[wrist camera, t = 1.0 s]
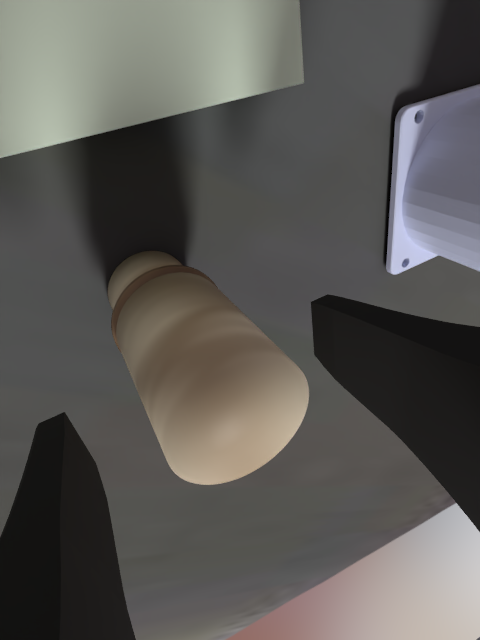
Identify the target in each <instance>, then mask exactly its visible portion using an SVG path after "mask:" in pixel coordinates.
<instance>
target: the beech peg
mask: <svg viewBox="0 0 480 640" xmlns="http://www.w3.org/2000/svg"><path fill="white" fill-rule="evenodd" d="M108 299H109V303H110V305H111V308H112V310H113V313H112V320H111V328H112V334H113V337H114V340H115V343H116V345H117V347H118V349H119V350H120V352H121V353H122V355H123V358H124V360H125V362H126V365H127V367H128V369H129V372H130V374H131V377H132V379H133V381H134V384H135V386H136V388H137V391H138V393H139V396H140V398H141V400H142V403H143V405H144V407H145V410H146V412H147V415H148V417H149V419H150V422H151V424H152V426H153V429H154V431H155V434H156V436H157V438H158V441H159V443H160V445H161V448H162V450H163V453H164V455H165V457H166V460H167V462H168V464H169V466H170V468H171V469H172V470H173V471H174V473H175V474H176V475H178V476H179V477H180V478H182V479H184V480H186V481H188V482H192V483H195V484H203V485H212V484H220V483H225V482H229V481H232V480H235V479H238V478H240V477H243V476H245V475H247V474H249V473H251V472H253V471H255V470H256V469H258V468H260V467H261V466H263V465H264V464H265V463H267V462H268V461H270V460H271V459H272V458H273V457H274V456H275V455H277V454H278V453H279V452H280V451H281V450H282V449H283V448H284V447H285V445H286V444H287V443H288V442H289V441H290V440H291V438H292V437H293V436H294V434H295V433H296V431H297V429H298V428H299V426H300V424H301V422H302V420H303V418H304V415H305V413H306V409H307V406H308V399H309V388H308V383H307V380H306V377H305V375H304V374H303V372H302V371H301V370H300V368H299V367H298V366H297V365H296V364H295V363H294V362H293V361H292V360H291V359H290V358H289V357H288V356H286V355H285V354H284V353H283V352H282V351H281V350H280V349H279V348H278V347H277V346H276V345H275V344H274V343H273V342H272V341H271V340H270V339H269V338H268V337H267V336H266V335H265V334H264V333H263V332H262V331H261V330H260V329H259V328H258V327H257V326H256V325H255V324H254V323H253V322H252V321H251V320H250V319H249V318H248V317H247V316H245V315H244V314H243V313H242V312H241V311H240V310H239V309H238V308H237V307H236V306H235V305H234V304H233V303H232V302H231V301H230V300H229V299H228V298H227V297H226V296H225V295H224V294H223V293H222V292H221V291H220V290H219V289H218V288H217V286H216V285H215V284H214V282H213V281H212V280H211V279H210V278H209V277H207V276H206V275H205V274H204V273H202V272H200V271H199V270H197V269H194V268H191V267H187V266H183V265H182V264H181V263H180V262H179V261H178V260H177V259H176V258H174V257H173V256H171V255H169V254H167V253H164V252H160V251H144V252H140V253H137V254H134V255H132V256H130V257H128V258H127V259H125V260H124V261H123V262H122V263H121V264H120V265H119V266H118V267H117V268H116V269H115V271H114V272H113V274H112V276H111V278H110V281H109V285H108Z"/></svg>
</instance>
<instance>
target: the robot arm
mask: <svg viewBox="0 0 480 640" xmlns="http://www.w3.org/2000/svg"><path fill="white" fill-rule="evenodd" d="M415 114H417V115H416V119H414V118H415ZM438 255H440V256H442V257H445V258H448V259H450V260H453V261H455V262H458V263H460V264H463V265H465V266H468V267H470V268H473V269H475V270H478V271H480V84H478V85H475V86H471V87H468V88H465V89H461V90H458V91H454V92H451V93H447V94H444V95H441V96H437V97H434V98H430V99H427V100H424V101H420V102H417V103H413V104H410V105H406V106H404V107H402V108H401V109H400V110H399V111H398V113H397V116H396V119H395V131H394V147H393V163H392V180H391V196H390V212H389V229H388V245H387V261H386V270H387V271H388V272H389V273H391V274H394V275H395V274H398V273H401V272H403V271H405V270H407V269H409V268H412V267H414V266H416V265H418V264H420V263H423V262H425V261H427V260H429V259H432V258H434V257H436V256H438ZM311 310H312V325H313V340H314V355H315V356H316V357H317V358H318V360H319V361H320V362H321V363H322V365H323V366H324V367H325V368H326V369H327V371H328V372H329V373H330V374H331V375H332V376H333V377H334V379H335V380H336V381H338V382H339V383H340V384H341V385H342V386H343V387H344V388H345V389H346V390H347V391H348V392H350V393H351V394H352V395H353V396H354V397H355V398H356V399H357V400H358V401H360V402H361V403H362V404H363V405H364V406H365V407H366V408H367V409H369V410H370V411H371V412H372V413H373V414H374V415H375V416H376V417H377V418H379V419H380V420H381V421H382V422H383V423H384V424H385V425H386V426H388V427H389V428H390V429H391V430H392V431H393V432H394V433H395V434H396V435H397V436H398V437H399V438H400V439H401V440H402V441H403V442H404V443H405V444H406V445H407V446H408V448H409V449H410V450H411V451H412V452H413V453H414V454H415V455H416V456H417V457H418V458H419V460H420V461H421V462H422V463H423V464H424V465H425V466H426V467H427V469H428V470H429V471H430V472H431V473H432V474H433V475H434V477H435V478H436V479H437V480H438V481H439V482H440V484H441V485H442V486H443V487H444V488H445V489H446V491H447V492H448V493H449V494H450V495H451V497H452V498H453V499H454V500H455V502H456V503H457V504H458V505H459V506H460V508H461V509H462V510H463V511H464V513H465V514H466V515H467V516H468V517H469V519H470V520H471V521H472V522H473V524H474V525H475V526H476V528H477V529H478V530H479V531H480V327H475V326H468V325H461V324H454V323H448V322H443V321H438V320H433V319H428V318H423V317H418V316H414V315H410V314H405V313H401V312H397V311H393V310H389V309H385V308H381V307H377V306H374V305H370V304H366V303H362V302H358V301H354V300H351V299H347V298H342V297H338V296H333V295H326V296H323V297H321V298H319V299H317V300H314V301H312V302H311ZM0 640H136V639H135V635H134V632H133V628H132V625H131V621H130V617H129V614H128V610H127V606H126V601H125V597H124V592H123V587H122V581H121V576H120V570H119V564H118V558H117V553H116V547H115V541H114V535H113V530H112V524H111V518H110V513H109V507H108V502H107V498H106V494H105V491H104V488H103V484H102V481H101V478H100V475H99V471H98V468H97V465H96V463H95V461H94V459H93V458H92V456H91V454H90V453H89V451H88V449H87V448H86V446H85V445H84V443H83V441H82V440H81V438H80V436H79V435H78V433H77V432H76V430H75V428H74V427H73V425H72V423H71V422H70V420H69V419H68V417H67V415H66V414H65V412H64V413H61V414H59V415H57V416H55V417H52V418H50V419H48V420H46V421H43V422H41V423H39V424H38V426H37V428H36V431H35V435H34V438H33V442H32V446H31V449H30V453H29V456H28V460H27V463H26V466H25V470H24V473H23V476H22V479H21V482H20V485H19V488H18V491H17V494H16V497H15V500H14V503H13V506H12V509H11V511H10V514H9V517H8V519H7V522H6V524H5V527H4V530H3V532H2V535H1V537H0ZM477 640H480V637H479V638H478V639H477Z"/></svg>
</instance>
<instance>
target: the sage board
mask: <svg viewBox="0 0 480 640" xmlns="http://www.w3.org/2000/svg"><path fill="white" fill-rule="evenodd" d="M302 83H304V74H303V57H302V39H301V21H300V4H299V0H0V158H2V157H6V156H10V155H14V154H19V153H23V152H27V151H31V150H35V149H39V148H43V147H47V146H51V145H55V144H59V143H63V142H67V141H71V140H75V139H79V138H83V137H87V136H91V135H96V134H100V133H104V132H108V131H112V130H116V129H120V128H124V127H128V126H132V125H136V124H140V123H144V122H148V121H152V120H156V119H160V118H164V117H168V116H173V115H177V114H181V113H185V112H189V111H193V110H197V109H201V108H205V107H209V106H213V105H217V104H221V103H225V102H229V101H233V100H237V99H241V98H246V97H250V96H254V95H258V94H262V93H266V92H270V91H274V90H278V89H282V88H286V87H290V86H294V85H298V84H302Z"/></svg>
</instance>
